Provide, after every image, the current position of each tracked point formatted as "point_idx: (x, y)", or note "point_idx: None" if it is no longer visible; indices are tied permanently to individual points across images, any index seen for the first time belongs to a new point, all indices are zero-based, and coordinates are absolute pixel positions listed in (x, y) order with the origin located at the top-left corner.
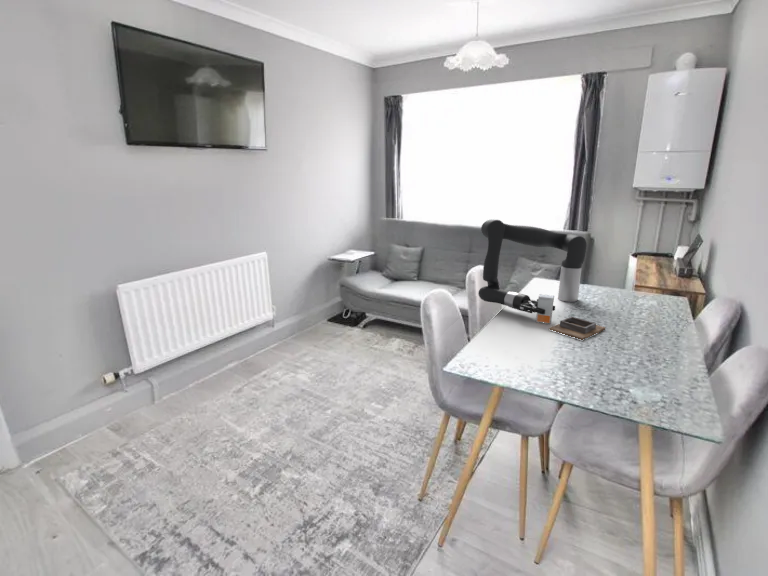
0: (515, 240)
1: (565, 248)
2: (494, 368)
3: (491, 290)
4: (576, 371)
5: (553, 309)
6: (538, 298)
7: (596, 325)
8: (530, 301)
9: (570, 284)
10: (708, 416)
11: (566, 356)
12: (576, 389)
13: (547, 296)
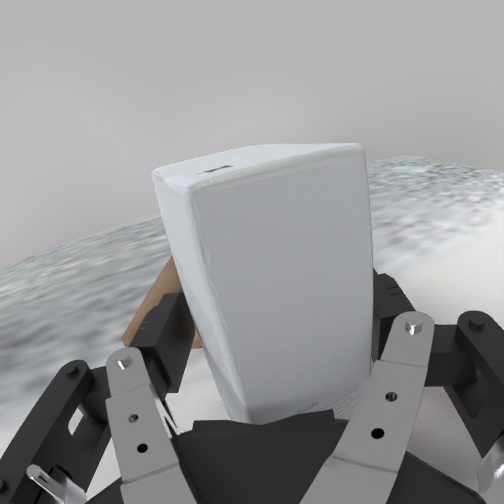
0: None
1: None
2: None
3: None
4: (472, 189)
5: (191, 321)
6: (367, 184)
7: (168, 268)
8: (317, 497)
9: None
10: (382, 159)
11: (462, 209)
12: (496, 177)
13: (245, 150)
